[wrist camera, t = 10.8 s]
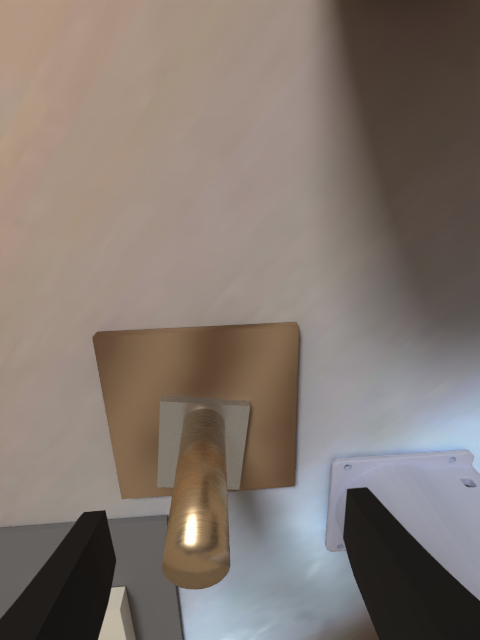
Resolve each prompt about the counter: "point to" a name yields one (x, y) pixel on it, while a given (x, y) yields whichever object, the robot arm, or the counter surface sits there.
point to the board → (201, 394)
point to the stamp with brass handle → (199, 484)
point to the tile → (117, 617)
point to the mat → (130, 571)
